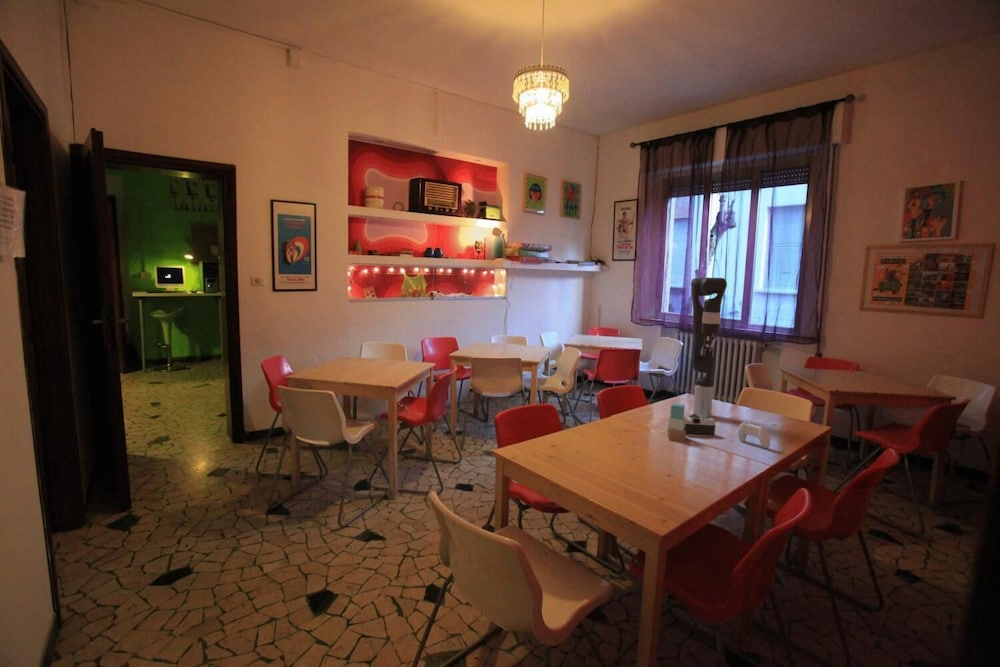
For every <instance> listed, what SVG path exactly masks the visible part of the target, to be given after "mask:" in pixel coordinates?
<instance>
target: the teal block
mask: <svg viewBox="0 0 1000 667" xmlns="http://www.w3.org/2000/svg"><path fill="white" fill-rule="evenodd" d="M670 417H671V418H673V419H680V420H682V419H683V418H684V417H685V404H683V403H674V402H673V403H672V404H671V405H670Z"/></svg>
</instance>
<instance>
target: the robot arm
mask: <svg viewBox="0 0 1000 667" xmlns="http://www.w3.org/2000/svg"><path fill="white" fill-rule="evenodd" d="M690 286H691V297H692V308H693V309H692V314H693V315H692V330H693V331H692V334H693V350H692V351H693V353H692V368H693V370H694V372H696V373H697V372H698V373H703V374H706V375H705V376H704V377H698V378H696V379H695V380H694V389H693V392H694V393H693V403H692V404H693V407H692V414H694V413H695V414H696V415H698V416H699V417H700V418H705V419H709V418H712V411H713V410H712V409H713V399H714V397H713V396H714V382H715V376H716V375H715V374H716V367H717V359H716V357H715V356H714V348H715V343H716V342H715V341H716V334H720V332H721V320H722V318H721V311H722V302H723V297H724V295H725V292H726V289H727V286H728V282H727V280H726V279H725V278H724V277H696V278H692V280H691V284H690ZM715 294H716V296H715V297H712V298H706V299H704V301H703V305H702V302H701V301H700V297H706V296H712V295H715ZM702 349H703V350H704V355H703V354H702Z"/></svg>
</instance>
